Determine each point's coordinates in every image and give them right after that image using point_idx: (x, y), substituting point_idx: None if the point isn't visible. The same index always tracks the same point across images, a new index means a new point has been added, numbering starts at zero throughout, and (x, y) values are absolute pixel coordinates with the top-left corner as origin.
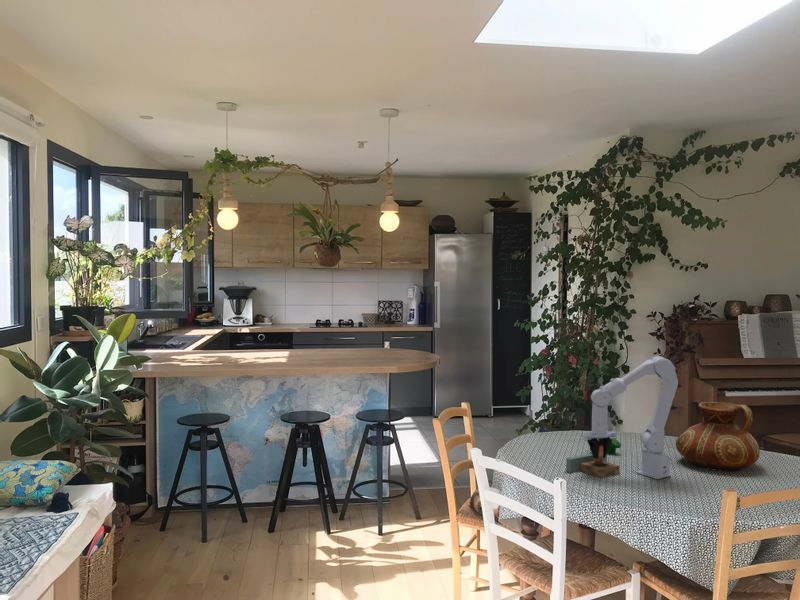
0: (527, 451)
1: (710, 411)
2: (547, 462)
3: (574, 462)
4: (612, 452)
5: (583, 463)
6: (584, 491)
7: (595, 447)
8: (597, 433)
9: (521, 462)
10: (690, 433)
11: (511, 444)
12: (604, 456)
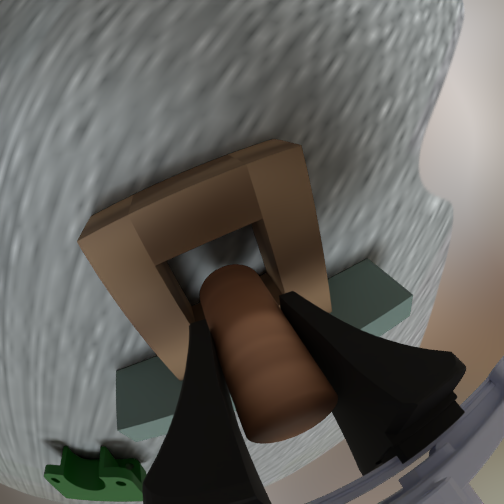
0: (319, 438)
1: None
2: None
3: (373, 298)
4: (71, 455)
5: (321, 304)
6: (434, 10)
7: (392, 343)
8: (472, 493)
9: None
10: None
11: (314, 459)
12: (205, 326)
